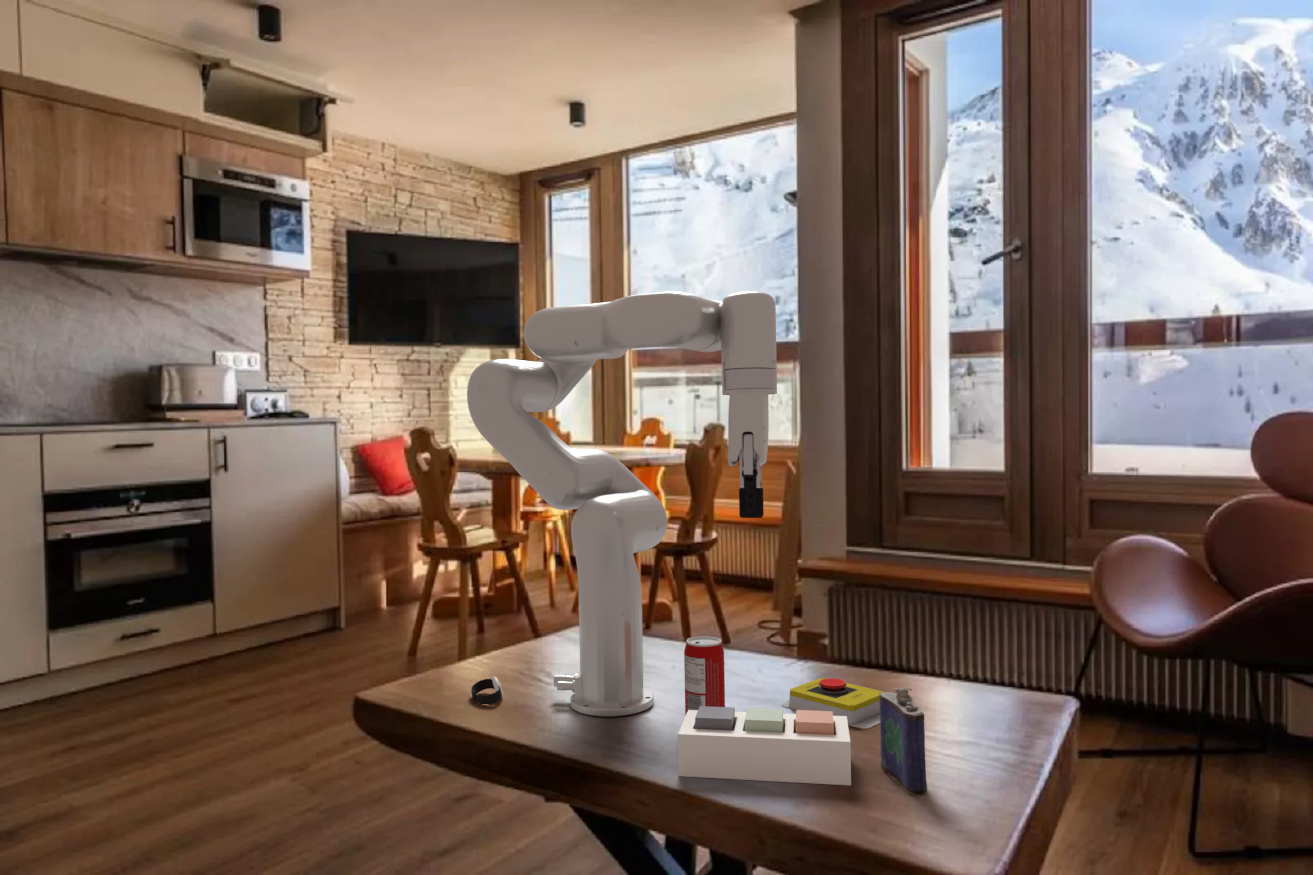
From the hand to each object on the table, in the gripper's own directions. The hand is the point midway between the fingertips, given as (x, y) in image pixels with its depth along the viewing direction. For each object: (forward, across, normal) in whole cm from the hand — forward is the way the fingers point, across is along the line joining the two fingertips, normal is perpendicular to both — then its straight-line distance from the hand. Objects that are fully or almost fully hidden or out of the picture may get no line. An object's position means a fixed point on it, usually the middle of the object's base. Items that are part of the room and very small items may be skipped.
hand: (751, 517), depth 116 cm
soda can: (+29, -1, -7) cm, 30 cm away
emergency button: (+30, -10, +12) cm, 34 cm away
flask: (+29, +15, +18) cm, 38 cm away
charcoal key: (+27, +13, -4) cm, 30 cm away
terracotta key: (+27, +13, +8) cm, 31 cm away
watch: (+30, -8, -42) cm, 52 cm away
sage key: (+27, +13, +2) cm, 30 cm away
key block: (+29, +13, +2) cm, 32 cm away
